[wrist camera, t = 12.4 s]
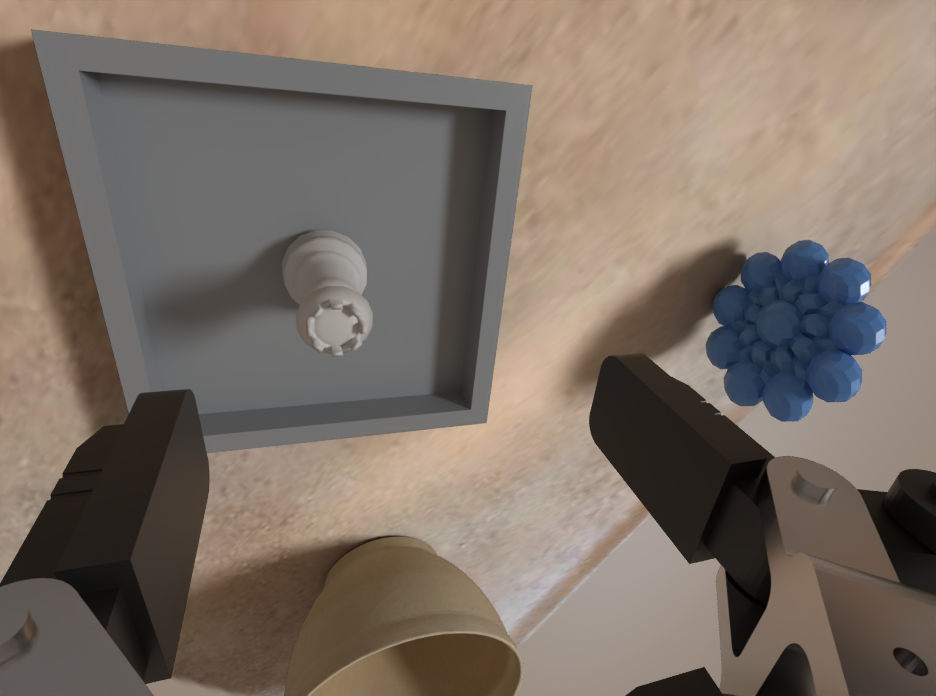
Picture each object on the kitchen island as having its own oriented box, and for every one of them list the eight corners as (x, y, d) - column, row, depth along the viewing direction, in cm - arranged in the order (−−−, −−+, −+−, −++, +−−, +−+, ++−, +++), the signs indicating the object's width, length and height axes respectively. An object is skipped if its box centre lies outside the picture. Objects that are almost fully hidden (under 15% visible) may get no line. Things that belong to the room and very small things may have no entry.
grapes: (705, 373, 42) (834, 469, 32) (653, 346, 39) (779, 442, 29) (800, 252, 39) (976, 317, 29) (753, 211, 36) (933, 268, 26)
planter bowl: (312, 663, 45) (318, 815, 36) (251, 543, 36) (240, 702, 27) (483, 600, 48) (530, 725, 39) (464, 477, 40) (517, 599, 31)
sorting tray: (509, 83, 27) (532, 85, 25) (472, 398, 36) (486, 422, 34) (61, 33, 21) (30, 29, 18) (152, 427, 30) (140, 460, 28)
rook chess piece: (314, 319, 29) (323, 394, 22) (263, 255, 27) (256, 319, 20) (380, 277, 29) (409, 340, 22) (335, 211, 27) (352, 259, 20)
